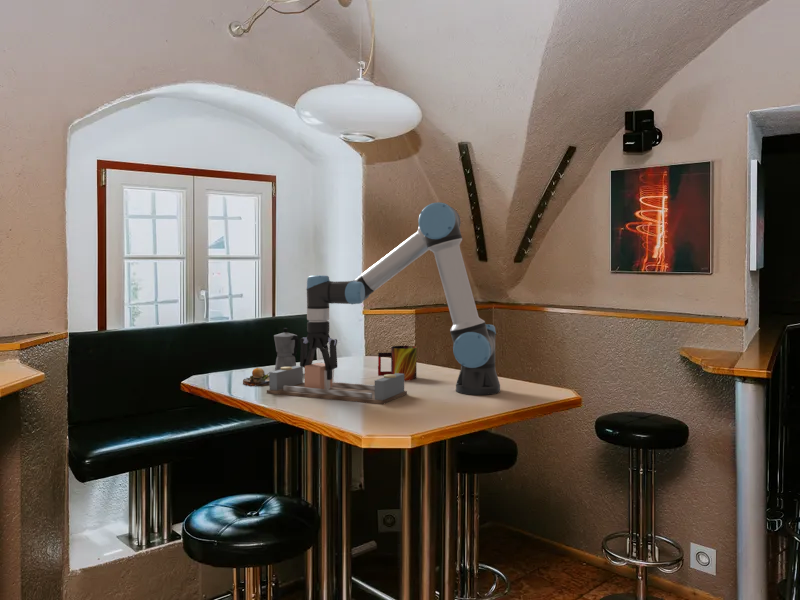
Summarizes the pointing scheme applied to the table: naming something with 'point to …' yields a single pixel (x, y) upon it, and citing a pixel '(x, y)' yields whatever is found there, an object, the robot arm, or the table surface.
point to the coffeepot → (285, 349)
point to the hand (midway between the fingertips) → (318, 388)
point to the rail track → (337, 392)
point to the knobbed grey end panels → (294, 376)
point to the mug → (400, 361)
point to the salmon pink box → (315, 376)
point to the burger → (257, 378)
